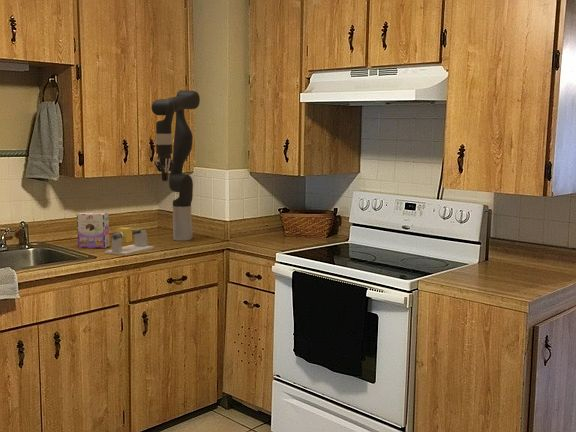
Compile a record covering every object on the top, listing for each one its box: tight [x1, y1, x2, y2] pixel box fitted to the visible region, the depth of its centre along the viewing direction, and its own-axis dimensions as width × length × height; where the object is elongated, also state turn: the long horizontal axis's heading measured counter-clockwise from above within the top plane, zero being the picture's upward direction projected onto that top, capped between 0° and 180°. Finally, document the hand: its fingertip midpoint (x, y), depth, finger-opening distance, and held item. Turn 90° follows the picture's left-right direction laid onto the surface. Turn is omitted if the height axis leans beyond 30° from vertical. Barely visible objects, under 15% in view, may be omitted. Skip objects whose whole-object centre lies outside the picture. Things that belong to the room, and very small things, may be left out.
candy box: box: [76, 212, 111, 249], centre depth 328 cm, size 14×6×16 cm, turn 80°
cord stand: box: [104, 228, 155, 256], centre depth 319 cm, size 20×12×10 cm, turn 153°
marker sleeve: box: [116, 227, 133, 243], centre depth 316 cm, size 4×5×6 cm
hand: (164, 180), depth 322 cm, fingers closed
